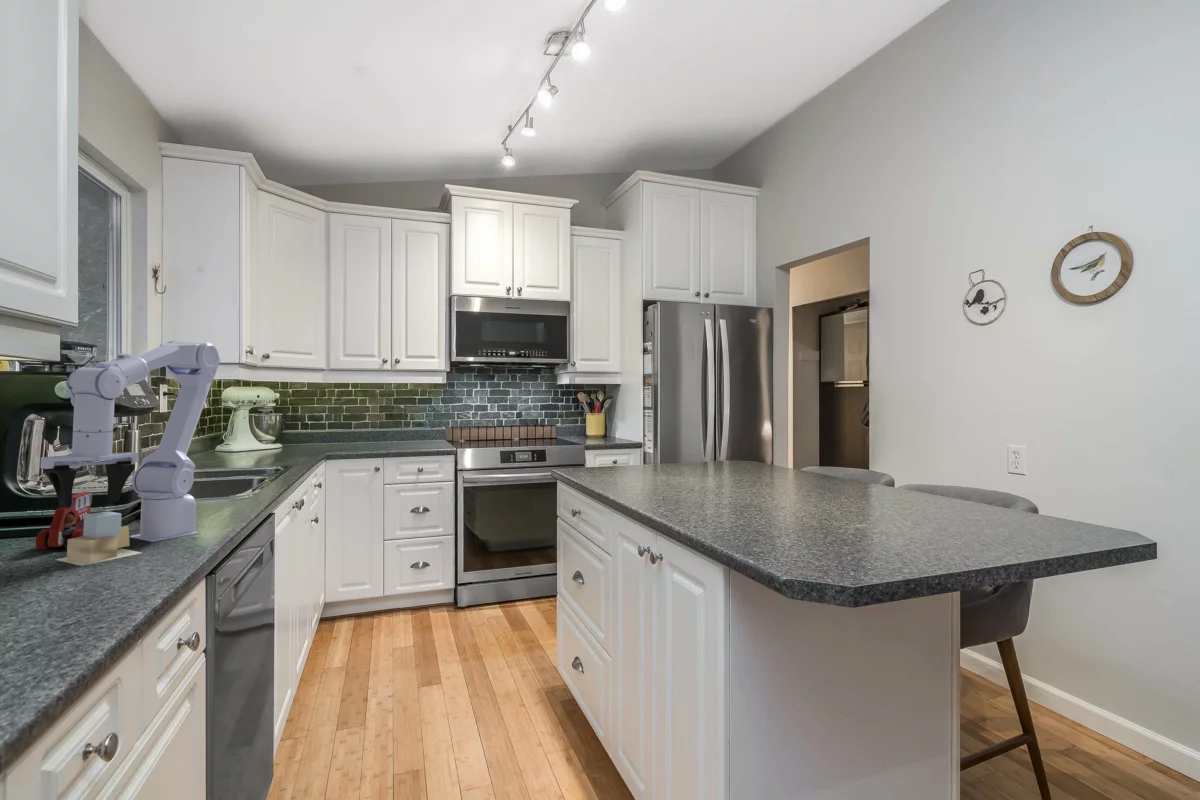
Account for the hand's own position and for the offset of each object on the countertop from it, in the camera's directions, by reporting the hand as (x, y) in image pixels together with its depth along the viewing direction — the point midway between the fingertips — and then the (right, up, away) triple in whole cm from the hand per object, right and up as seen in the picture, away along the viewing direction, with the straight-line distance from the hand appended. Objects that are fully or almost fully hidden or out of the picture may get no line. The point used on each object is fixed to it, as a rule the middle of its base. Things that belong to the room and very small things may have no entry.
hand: (89, 503), depth 109 cm
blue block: (+1, -6, +1) cm, 6 cm away
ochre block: (-1, -10, +6) cm, 12 cm away
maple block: (+1, -10, -1) cm, 10 cm away
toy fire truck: (-11, -10, +8) cm, 18 cm away
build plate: (+1, -11, +1) cm, 11 cm away
